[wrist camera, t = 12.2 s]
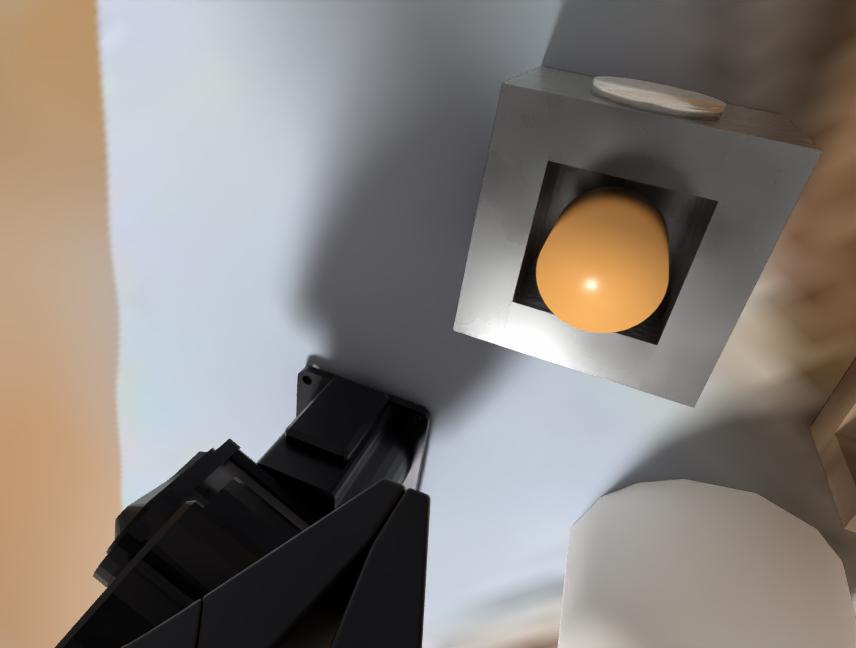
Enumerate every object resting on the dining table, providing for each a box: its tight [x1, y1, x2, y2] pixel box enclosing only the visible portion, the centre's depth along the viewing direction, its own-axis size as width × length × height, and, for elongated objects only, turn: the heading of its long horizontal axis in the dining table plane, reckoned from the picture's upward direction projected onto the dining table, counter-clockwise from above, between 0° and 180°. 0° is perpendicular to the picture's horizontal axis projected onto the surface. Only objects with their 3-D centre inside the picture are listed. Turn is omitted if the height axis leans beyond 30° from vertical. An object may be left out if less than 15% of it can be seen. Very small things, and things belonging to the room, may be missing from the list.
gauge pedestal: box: [453, 66, 822, 407], centre depth 17 cm, size 7×7×5 cm
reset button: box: [536, 186, 669, 333], centre depth 15 cm, size 3×3×4 cm
